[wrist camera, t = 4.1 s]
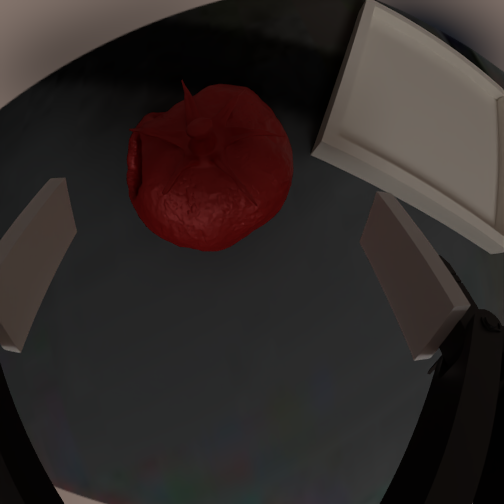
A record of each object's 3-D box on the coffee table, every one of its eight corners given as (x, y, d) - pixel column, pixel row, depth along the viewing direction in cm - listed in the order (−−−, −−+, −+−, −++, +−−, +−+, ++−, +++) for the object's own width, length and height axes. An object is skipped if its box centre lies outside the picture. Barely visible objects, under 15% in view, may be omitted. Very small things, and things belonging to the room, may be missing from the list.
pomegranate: (304, 166, 23) (356, 102, 14) (228, 284, 21) (241, 284, 12) (192, 99, 22) (188, 12, 13) (110, 205, 21) (52, 155, 12)
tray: (310, 154, 23) (321, 141, 20) (358, 11, 26) (367, -3, 23) (490, 254, 25) (508, 251, 22) (496, 102, 27) (508, 94, 25)
